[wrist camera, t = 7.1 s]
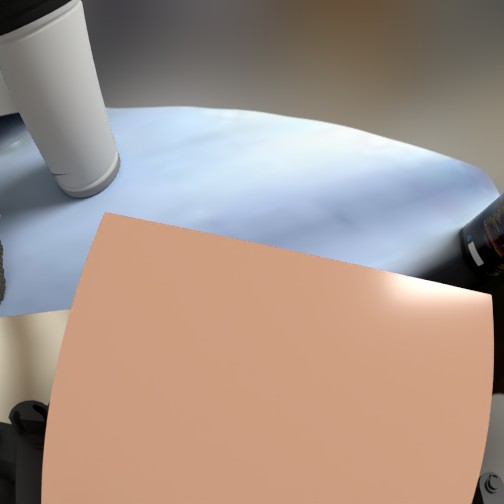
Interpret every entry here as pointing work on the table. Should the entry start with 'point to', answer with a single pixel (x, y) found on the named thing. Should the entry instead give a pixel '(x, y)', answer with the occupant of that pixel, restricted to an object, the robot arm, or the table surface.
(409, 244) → the table surface
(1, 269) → the eagle figurine
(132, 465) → the peach squarish block
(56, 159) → the travel mug
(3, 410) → the birch pad
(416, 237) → the table surface
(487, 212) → the supplement container
